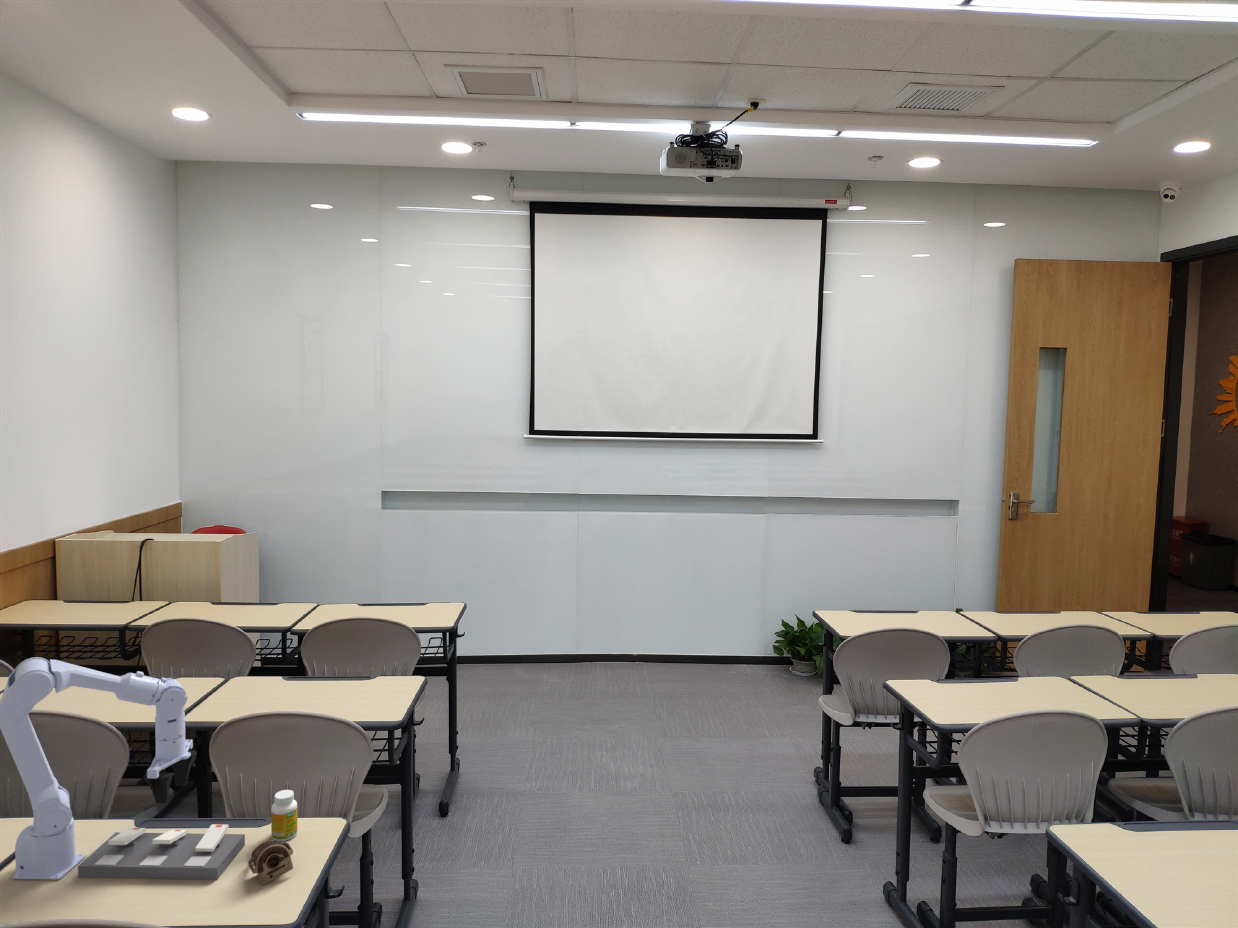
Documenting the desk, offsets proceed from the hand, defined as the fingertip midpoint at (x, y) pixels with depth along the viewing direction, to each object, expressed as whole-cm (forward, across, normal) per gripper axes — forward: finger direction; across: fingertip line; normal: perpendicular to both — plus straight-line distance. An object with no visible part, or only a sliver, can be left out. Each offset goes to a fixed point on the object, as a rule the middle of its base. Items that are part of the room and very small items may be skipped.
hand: (171, 793), depth 169 cm
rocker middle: (+6, -8, -4) cm, 11 cm away
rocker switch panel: (+9, -10, -4) cm, 14 cm away
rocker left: (+6, -8, +5) cm, 11 cm away
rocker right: (+6, -8, -13) cm, 16 cm away
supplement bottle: (+10, 0, -25) cm, 27 cm away
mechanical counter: (+10, -12, -27) cm, 31 cm away
